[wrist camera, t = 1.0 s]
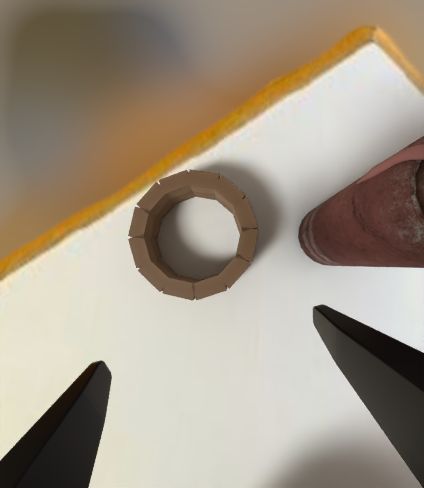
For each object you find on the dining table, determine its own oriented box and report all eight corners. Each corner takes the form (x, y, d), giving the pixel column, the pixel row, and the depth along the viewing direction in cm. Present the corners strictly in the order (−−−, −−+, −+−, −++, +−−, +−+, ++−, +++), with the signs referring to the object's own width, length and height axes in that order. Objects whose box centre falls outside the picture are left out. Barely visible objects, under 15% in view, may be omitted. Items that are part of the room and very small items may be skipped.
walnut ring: (276, 232, 22) (284, 226, 19) (201, 316, 22) (195, 326, 19) (193, 163, 24) (187, 146, 20) (124, 242, 24) (105, 239, 20)
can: (307, 197, 22) (432, 86, 8) (367, 220, 21) (619, 140, 7) (285, 249, 22) (376, 226, 8) (345, 275, 21) (562, 297, 7)
